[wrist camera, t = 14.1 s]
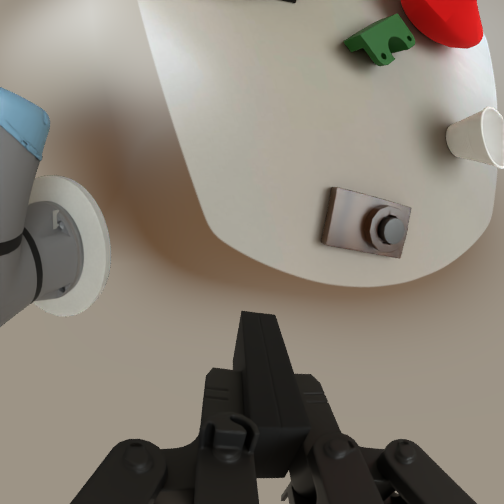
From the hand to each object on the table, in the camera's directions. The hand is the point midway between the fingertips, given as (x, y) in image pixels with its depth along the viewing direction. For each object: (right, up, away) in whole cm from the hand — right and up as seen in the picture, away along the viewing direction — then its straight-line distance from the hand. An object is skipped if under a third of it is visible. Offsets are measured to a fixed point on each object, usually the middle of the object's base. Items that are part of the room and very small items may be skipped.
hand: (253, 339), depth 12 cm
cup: (+37, +24, +24) cm, 50 cm away
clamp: (+20, +37, +20) cm, 47 cm away
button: (+19, +7, +23) cm, 31 cm away
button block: (+17, +8, +26) cm, 32 cm away
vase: (+34, +50, +18) cm, 63 cm away
